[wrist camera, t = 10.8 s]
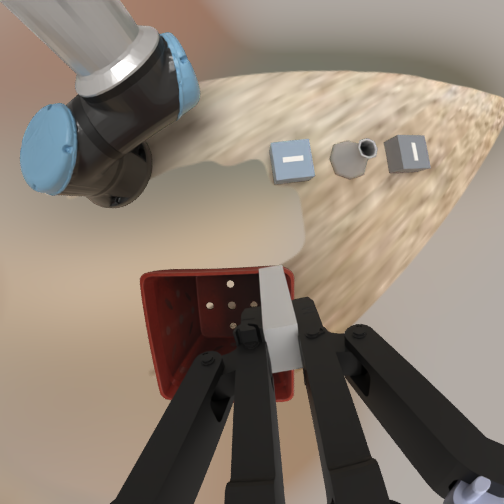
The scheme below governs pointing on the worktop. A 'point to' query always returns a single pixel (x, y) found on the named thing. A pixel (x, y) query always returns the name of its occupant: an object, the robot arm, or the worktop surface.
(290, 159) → the slate-blue marked block
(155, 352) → the plant pot
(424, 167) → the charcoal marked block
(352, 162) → the flask
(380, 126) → the worktop surface
